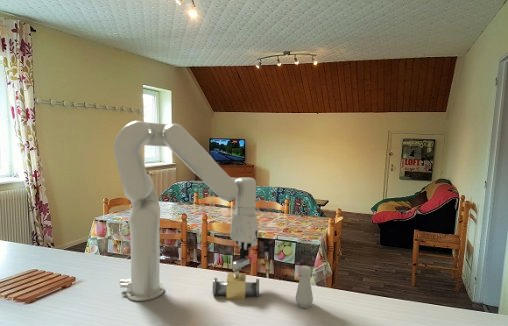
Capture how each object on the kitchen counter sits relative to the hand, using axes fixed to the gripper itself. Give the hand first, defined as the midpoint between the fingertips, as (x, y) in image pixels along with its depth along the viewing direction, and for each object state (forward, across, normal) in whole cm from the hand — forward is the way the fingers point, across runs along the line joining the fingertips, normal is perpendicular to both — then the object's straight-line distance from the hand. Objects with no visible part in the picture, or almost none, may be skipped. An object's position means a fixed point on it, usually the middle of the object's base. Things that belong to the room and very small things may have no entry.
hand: (244, 258), depth 120 cm
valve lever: (+1, +3, -4) cm, 5 cm away
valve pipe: (+10, +2, -9) cm, 13 cm away
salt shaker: (+10, +25, -2) cm, 27 cm away
